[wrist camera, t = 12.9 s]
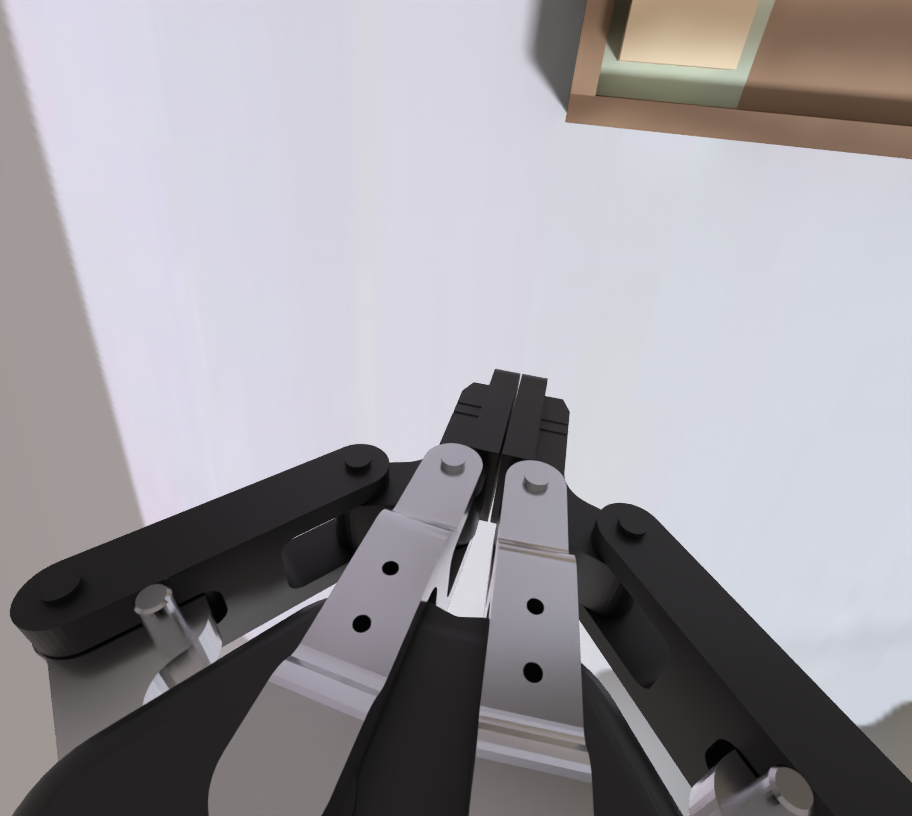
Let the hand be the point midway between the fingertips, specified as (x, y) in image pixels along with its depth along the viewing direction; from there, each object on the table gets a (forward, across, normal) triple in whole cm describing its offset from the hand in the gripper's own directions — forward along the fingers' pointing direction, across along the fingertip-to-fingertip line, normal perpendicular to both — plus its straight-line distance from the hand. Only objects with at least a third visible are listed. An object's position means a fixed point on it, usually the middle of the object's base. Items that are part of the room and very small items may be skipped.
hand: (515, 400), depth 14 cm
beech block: (+26, -4, -11) cm, 28 cm away
